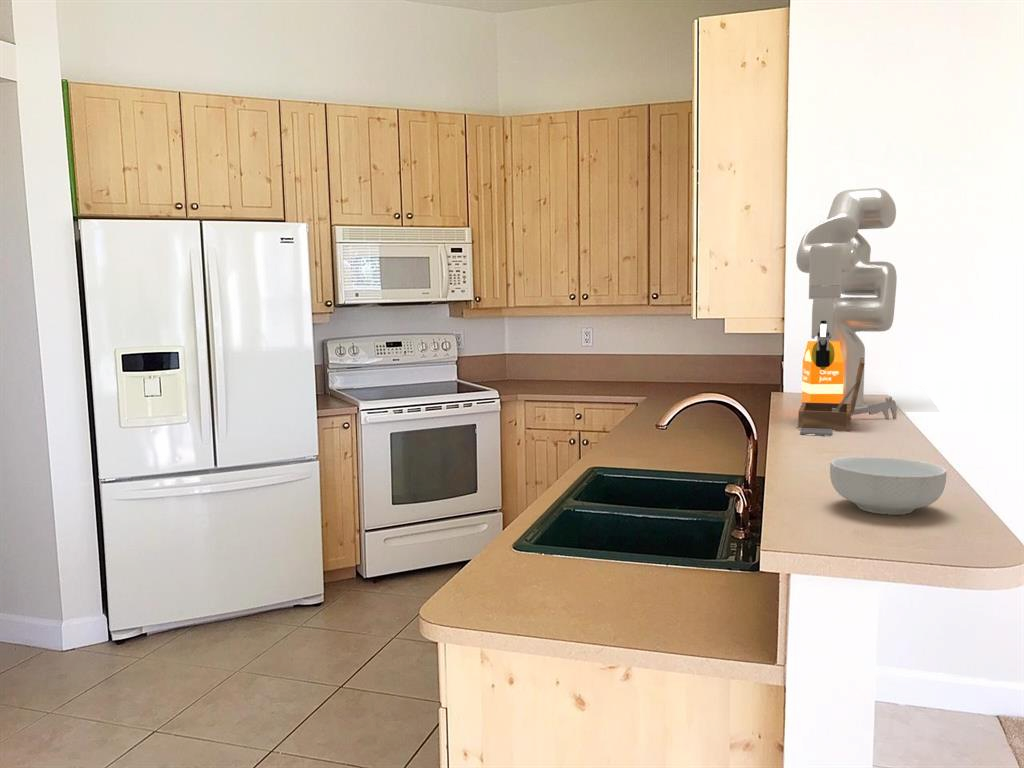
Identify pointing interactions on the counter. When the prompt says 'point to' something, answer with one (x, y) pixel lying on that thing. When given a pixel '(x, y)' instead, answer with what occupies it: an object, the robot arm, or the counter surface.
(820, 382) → the orange juice
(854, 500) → the cereal bowl
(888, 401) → the caliper
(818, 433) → the coaster
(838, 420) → the case
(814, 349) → the lemon
